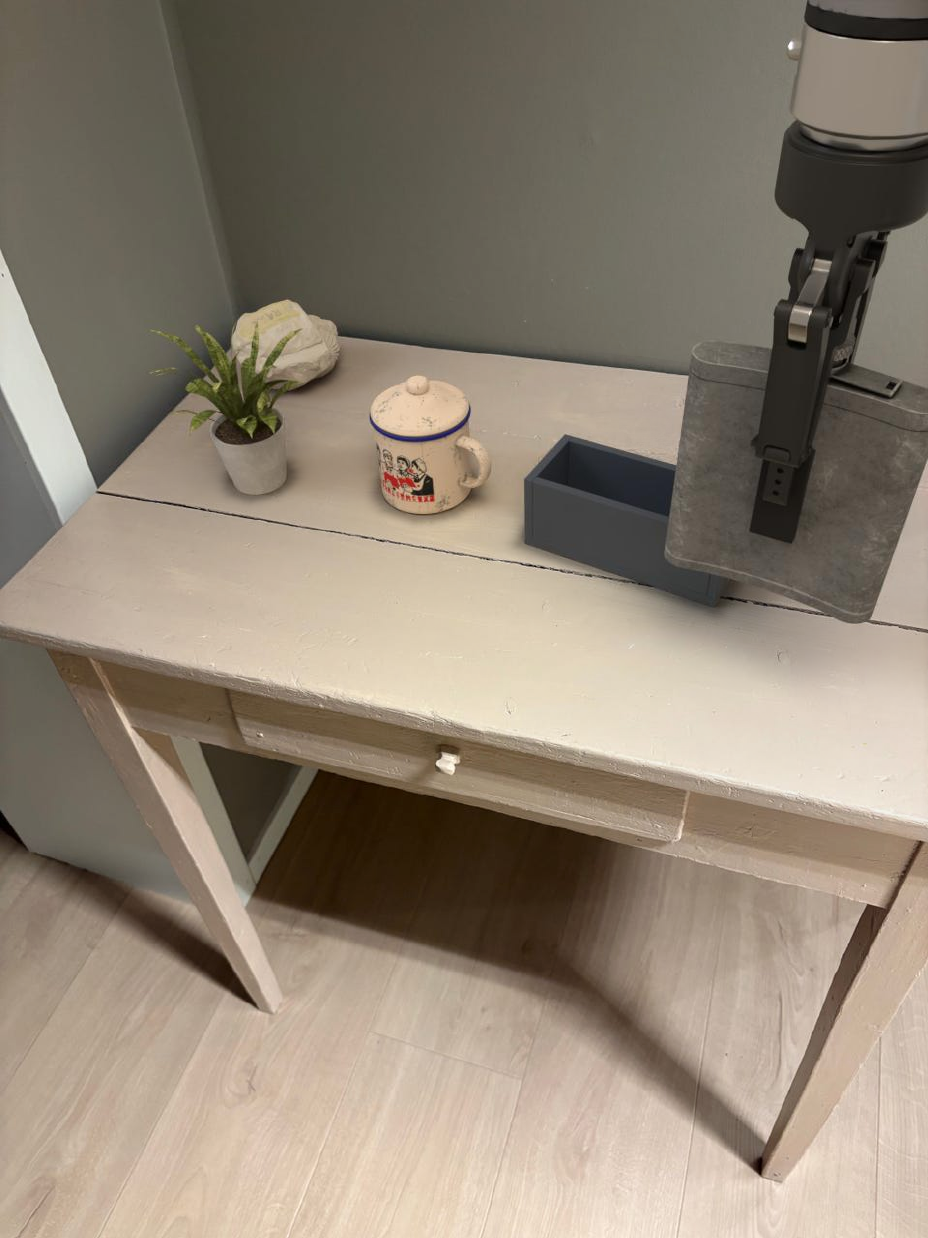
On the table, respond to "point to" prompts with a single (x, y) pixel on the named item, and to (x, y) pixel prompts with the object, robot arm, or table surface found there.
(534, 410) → the table surface
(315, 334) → the fossil replica
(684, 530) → the flask
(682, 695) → the table surface
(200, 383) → the house plant
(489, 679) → the table surface
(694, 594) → the holder
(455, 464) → the teacup with lid
